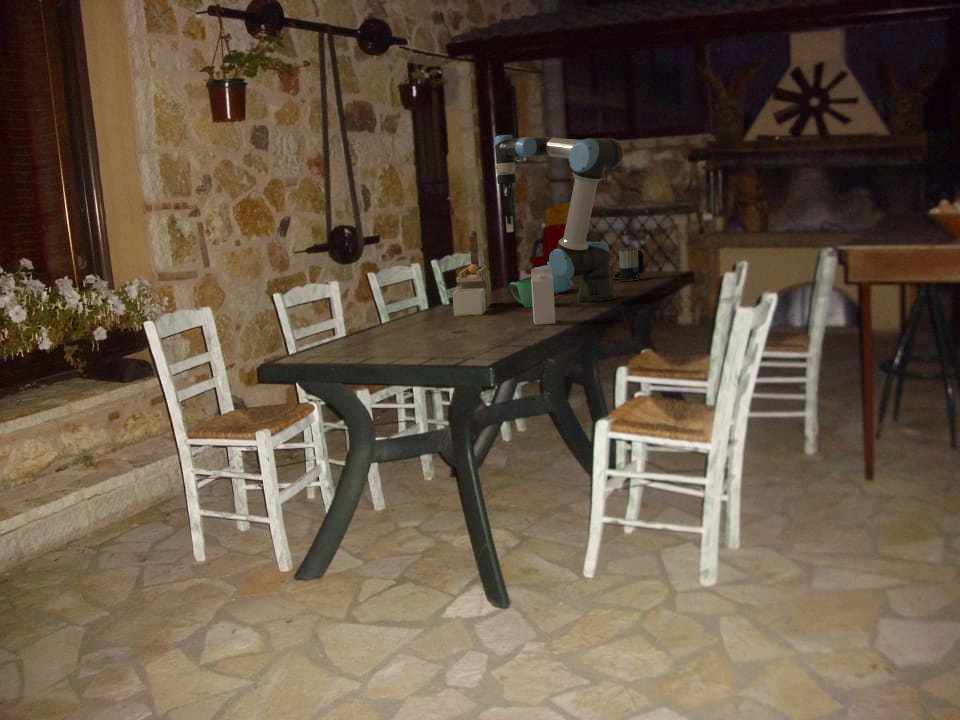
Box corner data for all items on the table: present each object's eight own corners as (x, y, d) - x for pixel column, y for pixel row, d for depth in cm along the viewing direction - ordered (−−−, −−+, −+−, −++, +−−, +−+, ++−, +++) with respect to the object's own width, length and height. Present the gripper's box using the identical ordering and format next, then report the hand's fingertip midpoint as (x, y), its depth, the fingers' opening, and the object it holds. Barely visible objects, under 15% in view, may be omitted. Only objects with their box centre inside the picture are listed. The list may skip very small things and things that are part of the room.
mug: (547, 304, 378) (546, 279, 376) (534, 308, 370) (532, 282, 369) (517, 303, 387) (515, 279, 385) (503, 307, 379) (501, 282, 377)
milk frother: (635, 282, 430) (634, 249, 427) (603, 282, 438) (601, 249, 435) (646, 278, 442) (645, 245, 439) (615, 278, 450) (613, 246, 447)
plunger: (469, 271, 390) (466, 230, 386) (482, 271, 389) (479, 230, 386) (468, 273, 385) (465, 231, 382) (481, 272, 384) (478, 230, 381)
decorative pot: (536, 297, 405) (535, 264, 402) (530, 292, 420) (528, 261, 418) (574, 293, 406) (573, 261, 403) (567, 289, 422) (565, 258, 419)
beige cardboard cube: (458, 312, 376) (457, 289, 374) (485, 310, 374) (484, 287, 372) (454, 316, 365) (452, 293, 363) (482, 315, 363) (480, 291, 362)
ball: (480, 273, 381) (479, 263, 381) (472, 275, 379) (471, 265, 379) (475, 273, 385) (474, 263, 384) (466, 274, 383) (466, 264, 382)
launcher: (467, 304, 395) (464, 267, 392) (491, 303, 394) (488, 265, 391) (458, 312, 374) (455, 273, 371) (484, 311, 372) (481, 271, 369)
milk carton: (533, 322, 338) (530, 268, 334) (553, 320, 338) (550, 266, 334) (535, 325, 331) (531, 270, 327) (555, 323, 331) (552, 268, 327)
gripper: (499, 174, 398) (503, 231, 402) (494, 174, 385) (499, 233, 389) (517, 173, 397) (521, 230, 401) (513, 173, 384) (517, 232, 388)
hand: (510, 231), depth 395 cm, fingers closed
